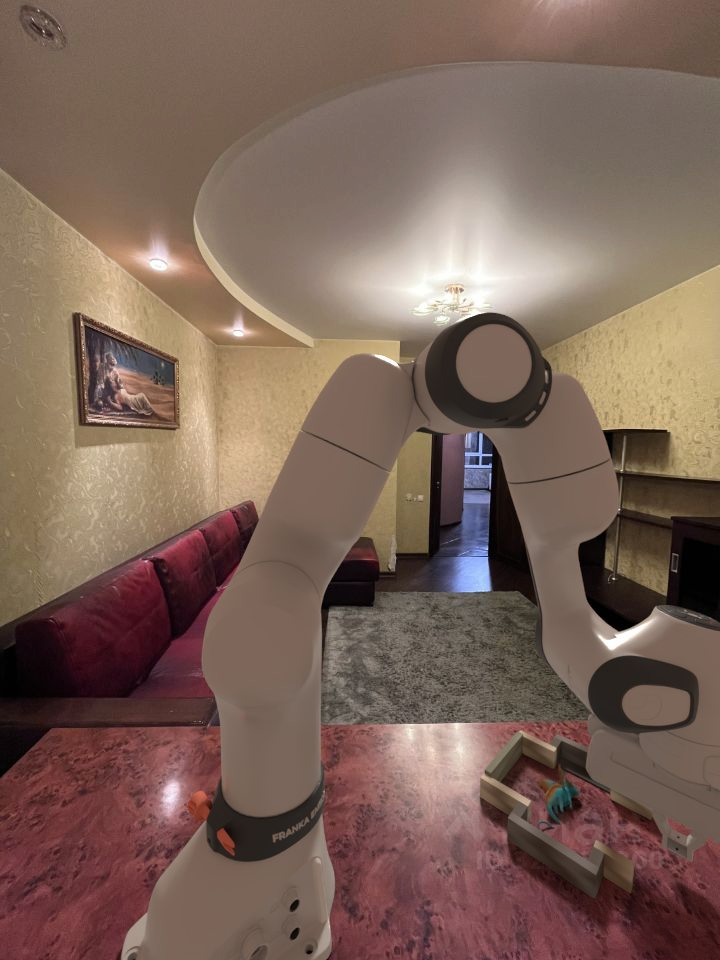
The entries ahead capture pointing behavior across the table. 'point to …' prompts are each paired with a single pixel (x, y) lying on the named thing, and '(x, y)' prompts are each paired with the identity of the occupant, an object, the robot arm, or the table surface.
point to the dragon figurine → (558, 794)
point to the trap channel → (536, 841)
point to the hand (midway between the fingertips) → (677, 850)
